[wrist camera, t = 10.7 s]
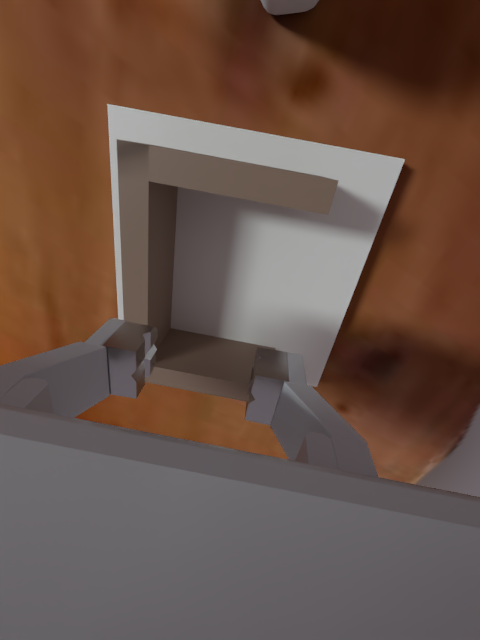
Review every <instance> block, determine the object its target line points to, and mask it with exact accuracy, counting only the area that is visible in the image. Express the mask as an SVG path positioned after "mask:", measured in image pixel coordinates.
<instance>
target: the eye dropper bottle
mask: <svg viewBox="0 0 480 640" xmlns="http://www.w3.org/2000/svg"><path fill="white" fill-rule="evenodd" d="M318 1H319V0H261V2H262V4H263V7H264V8H265V9H266V11H267V12H268V13H270V14H273V15H283V14H291V13H299V12H305V11H308V10H310V9H312V8H314V7H315V5H316V4H317V2H318Z"/></svg>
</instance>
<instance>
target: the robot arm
mask: <svg viewBox="0 0 480 640" xmlns="http://www.w3.org/2000/svg"><path fill="white" fill-rule="evenodd" d="M156 340H157V328H156V327H153V326H148V325H144V324H139V323H134V322H130V321H125V320H120V319H114V318H112V319H109V320H108V321H107V322H106V323H105V324H104V325H103V326H102V327H101V328H99V329H98V330H97V331H96V332H95V333H94V334H93V335H92V336H91V337H90V338H89V339H88V340H87V341H85V342H77V343H74V344H70V345H67V346H64V347H60V348H57V349H54V350H51V351H47V352H44V353H41V354H38V355H34V356H31V357H28V358H24V359H21V360H18V361H15V362H11V363H8V364H5V365H1V366H0V640H480V497H477V496H471V495H466V494H461V493H456V492H451V491H445V490H441V489H436V488H430V487H425V486H420V485H415V484H410V483H405V482H400V481H395V480H390V479H384V478H379V477H378V474H377V471H376V468H375V465H374V462H373V460H372V457H371V454H370V451H369V448H368V445H367V442H366V441H365V440H364V439H363V438H362V437H361V436H360V435H359V434H358V433H357V432H356V431H355V430H354V429H353V428H352V427H351V426H350V425H349V424H348V423H347V422H346V421H345V420H344V419H343V418H342V417H341V416H340V415H339V414H338V413H337V412H336V411H335V410H334V409H333V408H332V407H331V406H330V405H329V404H328V403H327V402H326V401H325V400H324V399H323V398H322V396H321V395H320V394H319V393H318V392H317V391H316V390H315V389H314V388H313V387H312V386H307V382H306V376H305V370H304V364H303V358H302V355H301V354H297V353H291V352H284V351H278V350H272V349H266V348H260V347H257V349H256V352H255V357H254V366H253V367H252V370H251V375H250V380H249V385H248V393H247V395H248V399H247V403H246V412H245V420H249V421H253V422H258V423H262V424H267V425H271V428H272V430H273V432H274V434H275V435H276V437H277V439H278V441H279V442H280V444H281V446H282V448H283V450H284V451H285V453H286V455H287V457H288V458H289V460H287V459H282V458H276V457H271V456H266V455H261V454H256V453H251V452H246V451H241V450H236V449H231V448H226V447H221V446H216V445H210V444H205V443H200V442H195V441H190V440H185V439H180V438H174V437H169V436H164V435H159V434H154V433H149V432H144V431H138V430H133V429H128V428H123V427H118V426H113V425H107V424H102V423H97V422H92V421H87V420H82V419H77V418H74V417H76V416H77V415H79V414H81V413H82V412H84V411H85V410H87V409H89V408H90V407H92V406H94V405H95V404H97V403H98V402H100V401H102V400H103V399H105V398H107V397H108V396H110V394H112V395H118V396H124V397H130V398H137V397H138V395H139V393H140V392H141V390H142V388H143V387H144V385H145V378H146V377H148V376H150V375H151V373H152V371H153V369H154V366H155V363H156V358H157V348H156V347H155V345H154V343H155V341H156Z"/></svg>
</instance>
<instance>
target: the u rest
mask: <svg viewBox="0 0 480 640" xmlns="http://www.w3.org/2000/svg"><path fill="white" fill-rule="evenodd" d="M107 105H108V125H109V145H110V164H111V184H112V204H113V224H114V243H115V263H116V283H117V302H118V319H120V320H125V321H130V322H134V323H139V324H144V325H148V326H153V327H156V328H157V340H156V341H155V343H154V345H155V347H156V348H157V358H156V363H155V366H154V369H153V371H152V373H151V375H150V376H148V377H146V378H145V382H148V383H154V384H159V385H164V386H169V387H174V388H179V389H185V390H190V391H195V392H200V393H205V394H210V395H216V396H221V397H226V398H231V399H236V400H241V401H247V399H248V395H247V393H248V385H249V380H250V375H251V370H252V367H253V366H254V357H255V352H256V349H257V347H260V348H266V349H272V350H278V351H284V352H291V353H297V354H301V355H302V358H303V364H304V370H305V376H306V382H307V385H310V386H315V387H317V386H318V383H319V380H320V378H321V375H322V373H323V370H324V367H325V365H326V362H327V360H328V357H329V355H330V352H331V349H332V347H333V344H334V342H335V339H336V336H337V334H338V331H339V329H340V326H341V324H342V321H343V318H344V316H345V313H346V311H347V308H348V306H349V303H350V300H351V298H352V295H353V293H354V290H355V287H356V285H357V282H358V280H359V277H360V275H361V272H362V269H363V267H364V264H365V262H366V259H367V256H368V254H369V251H370V249H371V246H372V244H373V241H374V238H375V236H376V233H377V231H378V228H379V225H380V223H381V220H382V218H383V215H384V213H385V210H386V207H387V205H388V202H389V200H390V197H391V195H392V192H393V189H394V187H395V184H396V182H397V179H398V176H399V174H400V171H401V169H402V166H403V164H404V161H405V159H401V158H396V157H390V156H385V155H379V154H374V153H369V152H363V151H358V150H352V149H347V148H342V147H336V146H331V145H326V144H320V143H315V142H309V141H304V140H299V139H293V138H288V137H282V136H277V135H272V134H266V133H261V132H256V131H250V130H245V129H239V128H234V127H229V126H223V125H218V124H213V123H207V122H202V121H196V120H191V119H186V118H180V117H175V116H169V115H164V114H159V113H153V112H148V111H143V110H137V109H132V108H126V107H121V106H116V105H110V104H107Z"/></svg>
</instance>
